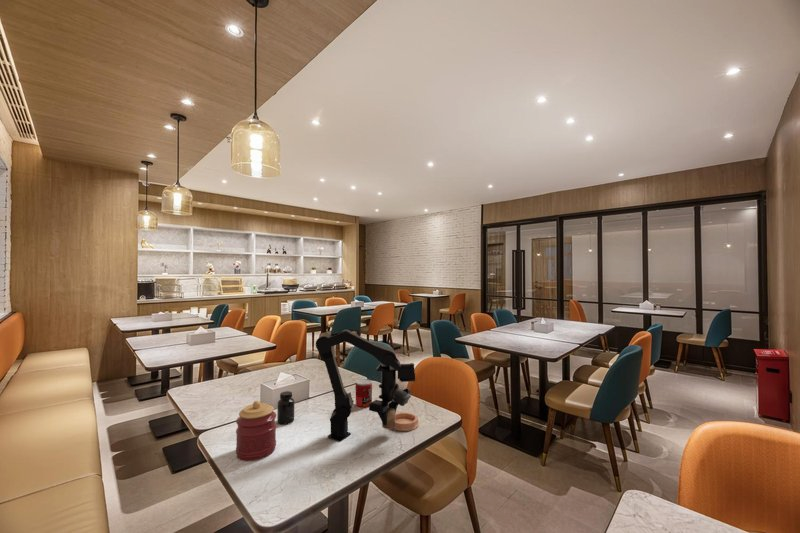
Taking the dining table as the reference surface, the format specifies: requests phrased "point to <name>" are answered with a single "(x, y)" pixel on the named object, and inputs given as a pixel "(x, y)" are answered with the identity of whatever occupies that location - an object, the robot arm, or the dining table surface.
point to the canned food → (363, 393)
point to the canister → (256, 432)
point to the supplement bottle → (285, 408)
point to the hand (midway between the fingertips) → (388, 422)
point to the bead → (390, 419)
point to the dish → (406, 422)
